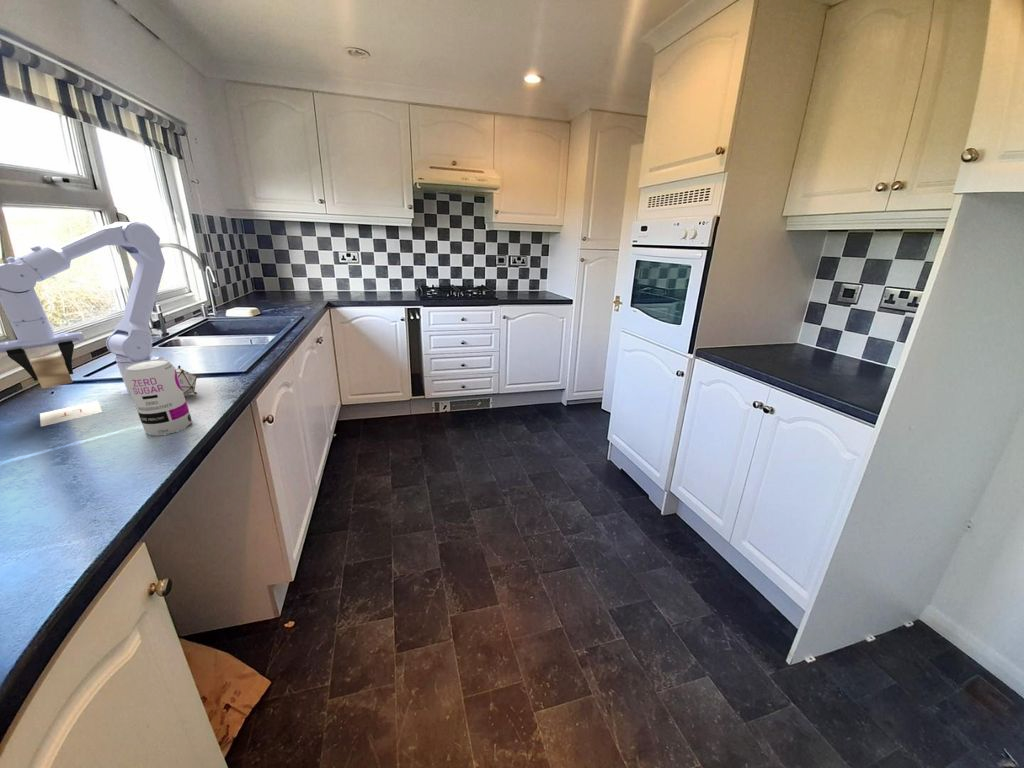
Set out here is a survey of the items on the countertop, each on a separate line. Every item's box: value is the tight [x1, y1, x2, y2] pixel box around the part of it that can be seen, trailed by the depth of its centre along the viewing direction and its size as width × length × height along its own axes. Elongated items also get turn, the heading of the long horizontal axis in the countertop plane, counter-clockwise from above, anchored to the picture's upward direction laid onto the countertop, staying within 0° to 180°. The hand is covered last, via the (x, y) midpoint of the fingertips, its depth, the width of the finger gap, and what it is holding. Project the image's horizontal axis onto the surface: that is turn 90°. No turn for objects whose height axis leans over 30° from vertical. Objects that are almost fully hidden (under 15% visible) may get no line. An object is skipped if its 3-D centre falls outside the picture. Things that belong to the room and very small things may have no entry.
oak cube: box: [29, 353, 73, 389], centre depth 96 cm, size 5×5×6 cm
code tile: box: [39, 400, 103, 427], centre depth 97 cm, size 10×10×1 cm
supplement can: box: [124, 358, 193, 436], centre depth 88 cm, size 8×8×15 cm
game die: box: [175, 364, 201, 397], centre depth 106 cm, size 9×8×10 cm
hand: (54, 376), depth 96 cm, fingers closed on oak cube, 5 cm apart
